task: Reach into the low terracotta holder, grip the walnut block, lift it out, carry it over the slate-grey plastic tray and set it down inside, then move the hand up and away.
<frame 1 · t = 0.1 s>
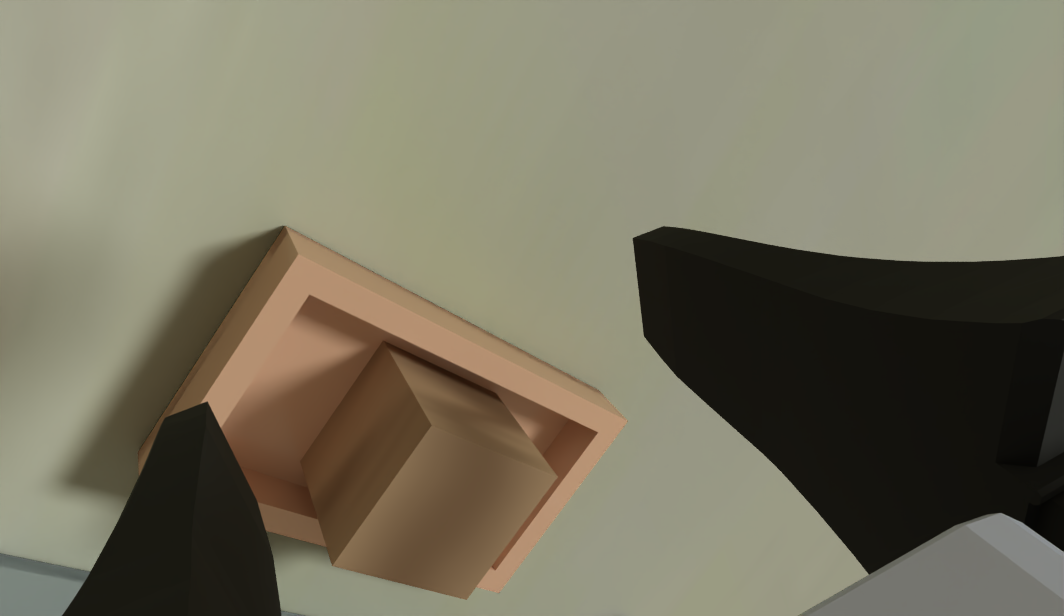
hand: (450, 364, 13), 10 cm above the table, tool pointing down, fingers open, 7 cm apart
terracotta holder: (397, 417, 25), on the table
walnut block: (402, 426, 25), resting on terracotta holder
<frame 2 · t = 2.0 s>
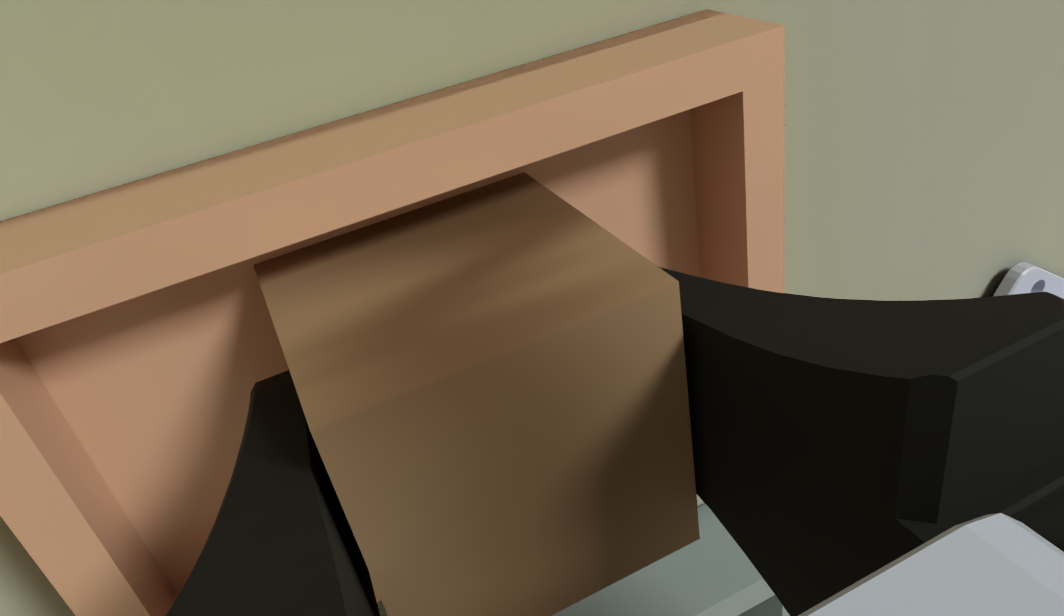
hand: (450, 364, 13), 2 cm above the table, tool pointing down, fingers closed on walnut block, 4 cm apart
terracotta holder: (420, 320, 14), on the table
walnut block: (429, 333, 14), resting on terracotta holder, touching gripper
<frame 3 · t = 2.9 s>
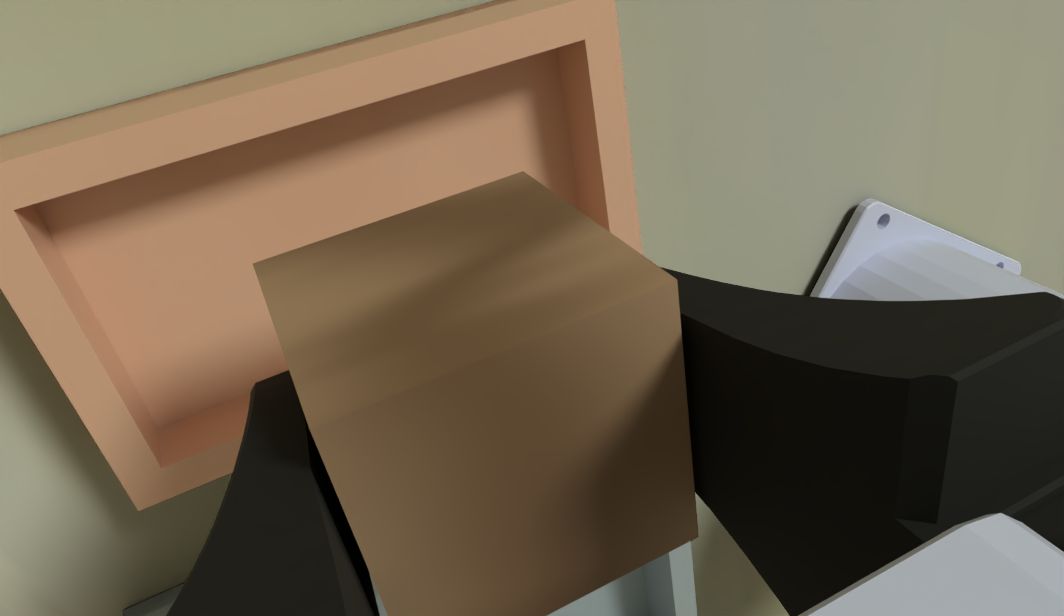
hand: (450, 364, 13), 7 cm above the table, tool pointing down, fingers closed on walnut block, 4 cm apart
terracotta holder: (349, 221, 18), on the table
slate tray: (446, 610, 25), on the table
walnut block: (428, 332, 14), point 6 cm above the table, touching gripper
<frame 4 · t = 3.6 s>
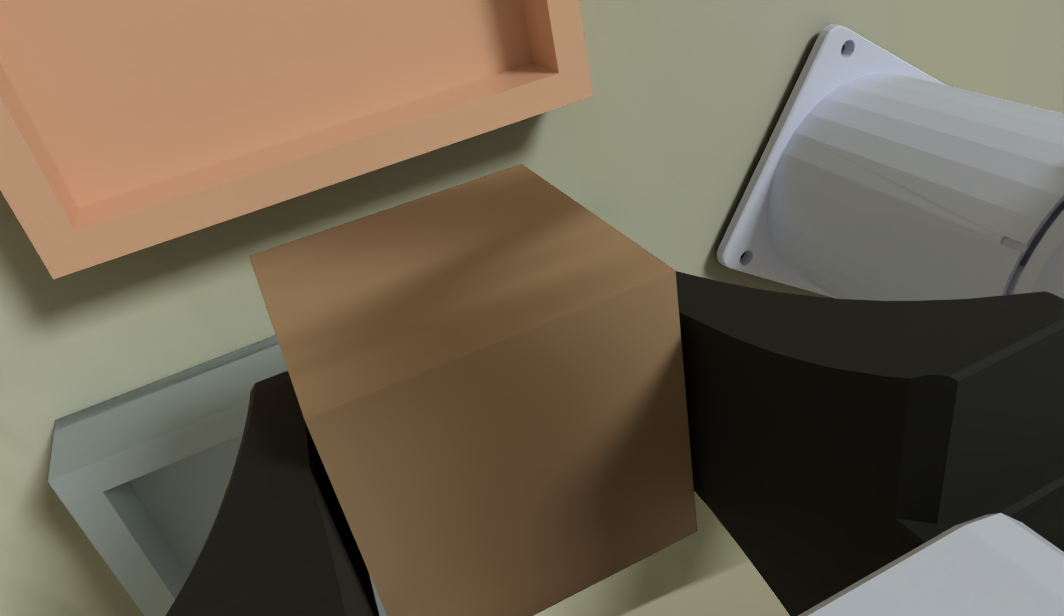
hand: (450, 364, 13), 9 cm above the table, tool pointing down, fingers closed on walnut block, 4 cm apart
slate tray: (402, 455, 24), on the table
walnut block: (426, 326, 14), point 8 cm above the table, touching gripper
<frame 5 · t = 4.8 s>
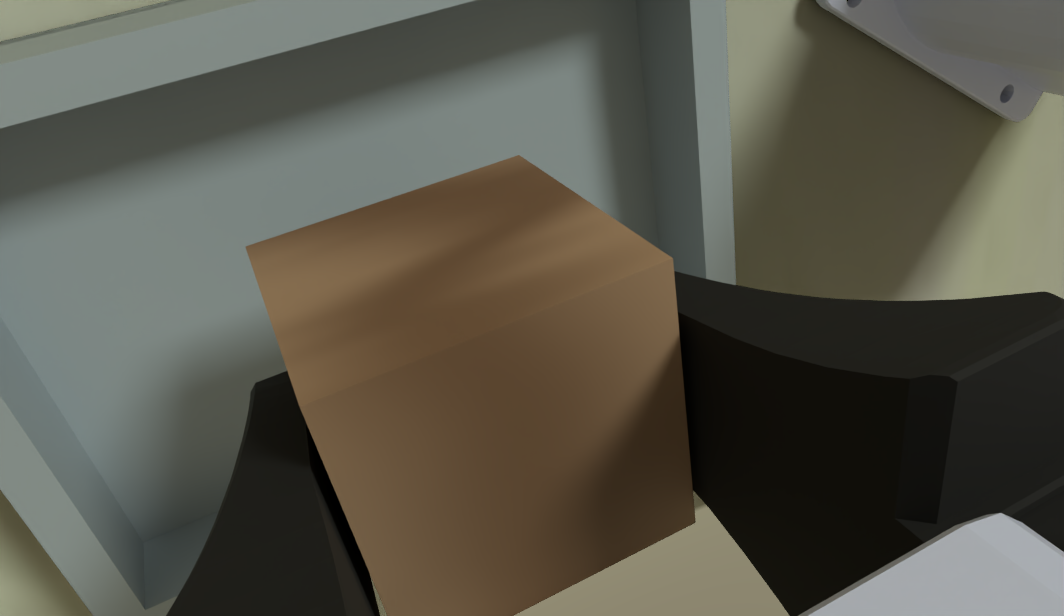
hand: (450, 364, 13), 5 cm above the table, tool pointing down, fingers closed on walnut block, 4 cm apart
slate tray: (370, 243, 17), on the table
walnut block: (423, 318, 13), point 4 cm above the table, touching gripper
when the fingers open (3 cm above the table, at t = 5.6 s): walnut block drops 2 cm, resting on slate tray.
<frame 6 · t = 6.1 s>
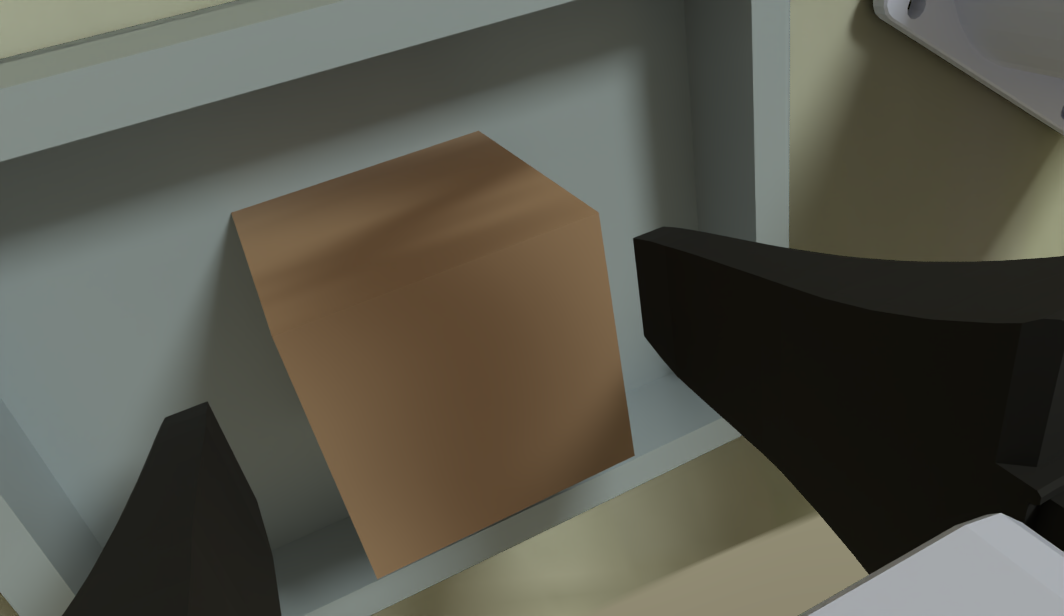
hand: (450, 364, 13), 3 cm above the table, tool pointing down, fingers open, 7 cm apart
slate tray: (392, 279, 15), on the table
walnut block: (395, 279, 15), resting on slate tray
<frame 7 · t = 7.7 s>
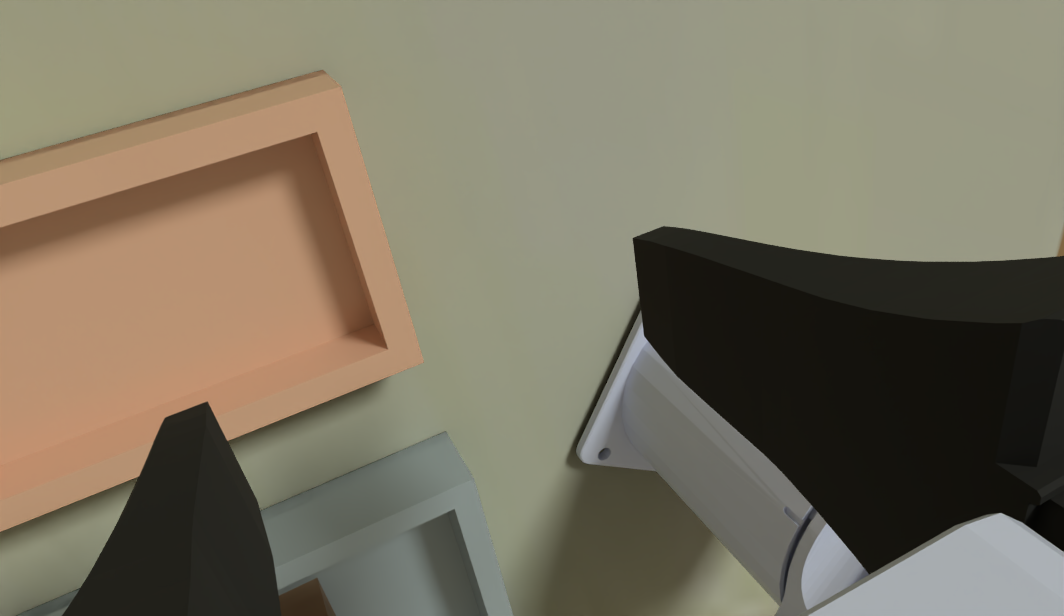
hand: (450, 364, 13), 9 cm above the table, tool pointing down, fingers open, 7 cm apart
terracotta holder: (120, 294, 19), on the table
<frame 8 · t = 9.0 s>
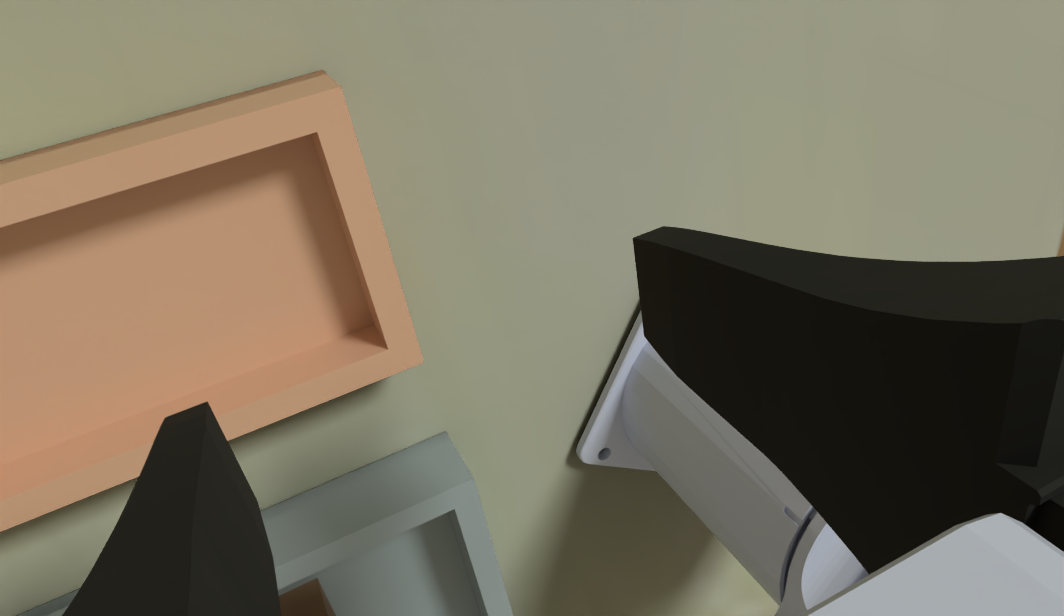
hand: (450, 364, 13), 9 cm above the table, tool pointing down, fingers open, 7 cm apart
terracotta holder: (120, 294, 19), on the table
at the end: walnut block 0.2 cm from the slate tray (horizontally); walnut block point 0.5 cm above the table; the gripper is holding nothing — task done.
